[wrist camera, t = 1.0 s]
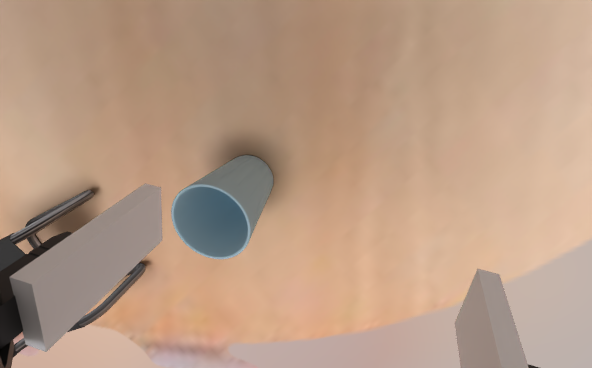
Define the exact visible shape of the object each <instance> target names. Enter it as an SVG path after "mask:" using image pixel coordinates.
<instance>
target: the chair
mask: <svg viewBox="0 0 592 368" xmlns="http://www.w3.org/2000/svg"><path fill="white" fill-rule="evenodd" d="M93 195H94V193H93V192H92V191H91V190H87V191H85V192H83V193H81V194H79V195H77V196H75V197H73V198H71V199H69V200H67V201H65V202H64V203H62V204H60V205H58V206H56V207H54V208H52V209H50V210H48V211H46V212H44V213H42V214H40V215H39V216H37V217H35V218H33V219H31V220H30V221H29V222H27V224H26V226H25V228H23V229H22V230H20V231H18V232H16V233H12V234H10V235H9V236H7V237H5V238H3V239H1V240H0V271H2V270H3V269H5V268H6V267H8V266H9V265H11V264H12V263H14V262H15V261H17V260H18V259H20V258H21V257H23V256H24V255H26V254H25V253H24V252H23V251H22V250H20V249H19V248H18V247H17V246H16V245H15V244H17V243H19V242H21V241H23V240H25V239H26V238H27V239H28V241H29V243H30V244H31V246H32V247H33V248H34V249H35V248H36V247H39V245H41V243H40V242H39V241H38V239H37V238H36V236H35V233H37V232H39V231H40V230H42V229H44V228H45V227H47V226H48V225H50V224H52V223H53V222H55V221H56V220H58V219H59V218H61V217H63V216H64V215H66V214H67V213H69V212H71V211H72V210H74V209H75V208H77V207H78V206H80V205H82V204H83V203H85V202H86V201H88V200H89V199H91V198H92V197H93ZM145 268H146V267H145V265H144V264H142V263H138V264H137V265H136V266H135V267H134V268H133V269H132V270H131V271H130V272H129V273H128V274H127V275H130V274H131V275H130V276H129V277H128V278H127V279H126V280H125V281H124V282H123V283H122V284H121V285H120V286H119V287H118V288H117V289H116V290H115V291H114V292H113V293H112V294H111V295H110V296H109V297H108V298H107V299H106V300H105V301H104V302H103V303H102V304H101V305H100V306H98V307H97V308H96V309H95V310H93V311H92V312H90V313H89V314H87V315H85V316H83V317H82V318H81V319H80V320H79V321H78V322H77V323H76V324H75V325H74V326H73V327H72V328H71V329H70V330H69V331H72V330H76V329H79V328H82V327H85V326H86V325H88V324H90V323H92V322H93V321H95V320H96V319H98V318H99V317H101V316H102V315H103V314H104V313H106V312H107V311H108V310H109V309H110V308H111V307H112V306H113V305H114V304H115V303H116V302H117V301H118V300H119V299H120V297H121V296H122V295H123V294H124V293H125V292H126V291H127V290H128V289H129V288H130V287H131V286H132V285H133V284H134V283H135V282H136V281H137V280H138V279H139V278H140V277H141V276H142V274H143V273H144V272H145ZM127 275H126V276H127ZM69 331H68V332H69ZM27 346H28V345H26V343H25V339H24V338H23V339H22V340H20V341H19V342H17V343H16V344H15V345H14V352H13V357H14V356H15V355H17V353H19V352H20V351H21V350H22V349H24V348H25V347H27Z"/></svg>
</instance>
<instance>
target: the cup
mask: <svg viewBox="0 0 592 368" xmlns="http://www.w3.org/2000/svg"><path fill="white" fill-rule="evenodd" d="M272 187H273V175H272V172H271V170H270V168H269V167H268V165H267V164H266V163H265V162H264V161H262V160H261V159H259V158H257V157H255V156H250V155H244V156H239V157H237V158H235V159H233V160H231V161H230V162H228V163H226V164H225V165H223V166H221V167H220V168H218V169H216V170H215V171H213V172H211V173H210V174H208V175H206V176H205V177H203V178H201V179H200V180H198V181H196V182H194V183H193V184H191V185H189V186H188V187H186V188H184V189H183V190H182V191H180V192H179V193H178V195H177V196H176V197H175V199H174V201H173V204H172V211H171V214H172V221H173V225H174V227H175V230H176V232H177V233H178V235H179V237H180V238H181V239H182V240H183V241H184V243H185V244H186V245H187V246H189V247H190V248H191V249H192V250H194V251H195V252H197V253H199V254H201V255H203V256H206V257H209V258H213V259H227V258H231V257H234V256H236V255H238V254H239V253H241V252H242V251H243V250H244V249H245V247H246V246H247V244H248V242H249V240H250V238H251V235H252V233H253V231H254V228H255V226H256V224H257V221H258V219H259V217H260V215H261V213H262V210H263V208H264V206H265V204H266V201H267V199H268V197H269V195H270V192H271V190H272Z"/></svg>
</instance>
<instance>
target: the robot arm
mask: <svg viewBox="0 0 592 368" xmlns="http://www.w3.org/2000/svg"><path fill="white" fill-rule="evenodd" d="M161 241H162V209H161V187H157V186H153V185H149V184H144V185H142V186H141V187H139V188H138V189H136V190H135V191H133V192H132V193H131V194H129V195H128V196H126V197H125V198H123V199H122V200H120V201H119V202H117V203H116V204H115V205H113V206H112V207H110V208H109V209H107V210H106V211H104V212H103V213H101V214H100V215H99V216H97V217H96V218H94V219H93V220H91V221H90V222H88V223H87V224H86V225H84V226H83V227H81V228H80V229H78V230H77V231H75V232H74V233H71V232H65V233H62V234H60V235H57V236H54V237H52V238H50V239H49V240H47V241H46V242H44V243H42V244H41V245H39V247H36V248H35V249H33V250H32V251H30V252H29V254H26V255H24V256H23V257H21V258H20V259H18V260H17V261H15V262H14V263H12V264H11V265H9V266H8V267H6V268H5V269H3V270H2V271H0V368H11V365H12V358H13V352H14V342H13V339H14V338H15V337H16V336H18V335H19V334H20V333H21V332H22V331H23V335H24V339H25V343H26V345H28V346H31V347H34V348H37V349H39V350H42V351H45V352H47V351H48V350H49V349H50V348H51V347H52V346H53V345H54V344H55V343H56V342H57V341H58V340H59V339H60V338H61V337H62V336H63V335H64V334H65V333H66V332H68V331H69V330H70V329H71V328H72V327H73V326H74V325H75V324H76V323H77V322H78V321H79V320H80V319H81V318H82V317H83V316H84V315H85V314H86V313H87V312H88V311H89V310H90V309H91V308H92V307H93V306H95V305H96V304H97V303H98V302H99V301H100V300H101V299H102V298H103V297H104V296H105V295H106V294H107V293H108V292H109V291H110V290H111V289H112V288H113V287H114V286H115V285H116V284H117V283H118V282H119V281H120V280H122V279H123V278H124V277H125V276H126V275H127V274H128V273H129V272H130V271H131V270H132V269H133V268H134V267H135V266H136V265H137V264H138V263H139V262H140V261H141V260H142V259H143V258H144V257H145V256H146V255H147V254H148V253H150V252H151V251H152V250H153V249H154V248H155V247H156V246H157V245H158V244H159V243H160V242H161ZM455 327H456V335H457V343H458V350H459V357H460V365H461V368H538V367H535V366H531V365H528V364H527V361H526V358H525V354H524V351H523V348H522V345H521V342H520V339H519V335H518V332H517V329H516V326H515V323H514V320H513V316H512V313H511V310H510V307H509V304H508V301H507V297H506V294H505V291H504V288H503V285H502V282H501V278H500V275H499V274H496V273H492V272H489V271H485V270H481V269H477V271H476V274H475V276H474V279H473V281H472V283H471V286H470V288H469V290H468V293H467V295H466V297H465V300H464V302H463V305H462V307H461V309H460V312H459V314H458V316H457V319H456V321H455Z"/></svg>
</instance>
